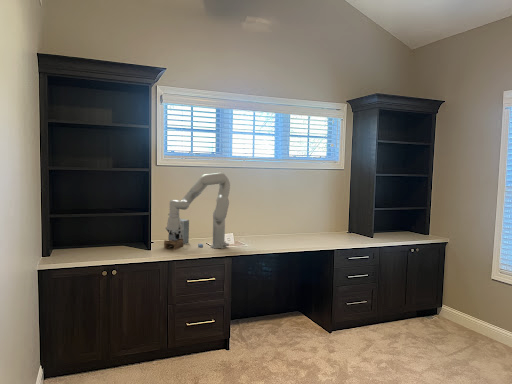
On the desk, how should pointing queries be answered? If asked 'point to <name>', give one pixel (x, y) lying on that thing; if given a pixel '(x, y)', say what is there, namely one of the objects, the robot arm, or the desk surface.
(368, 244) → the desk surface
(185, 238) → the hard drive box
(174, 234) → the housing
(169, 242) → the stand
